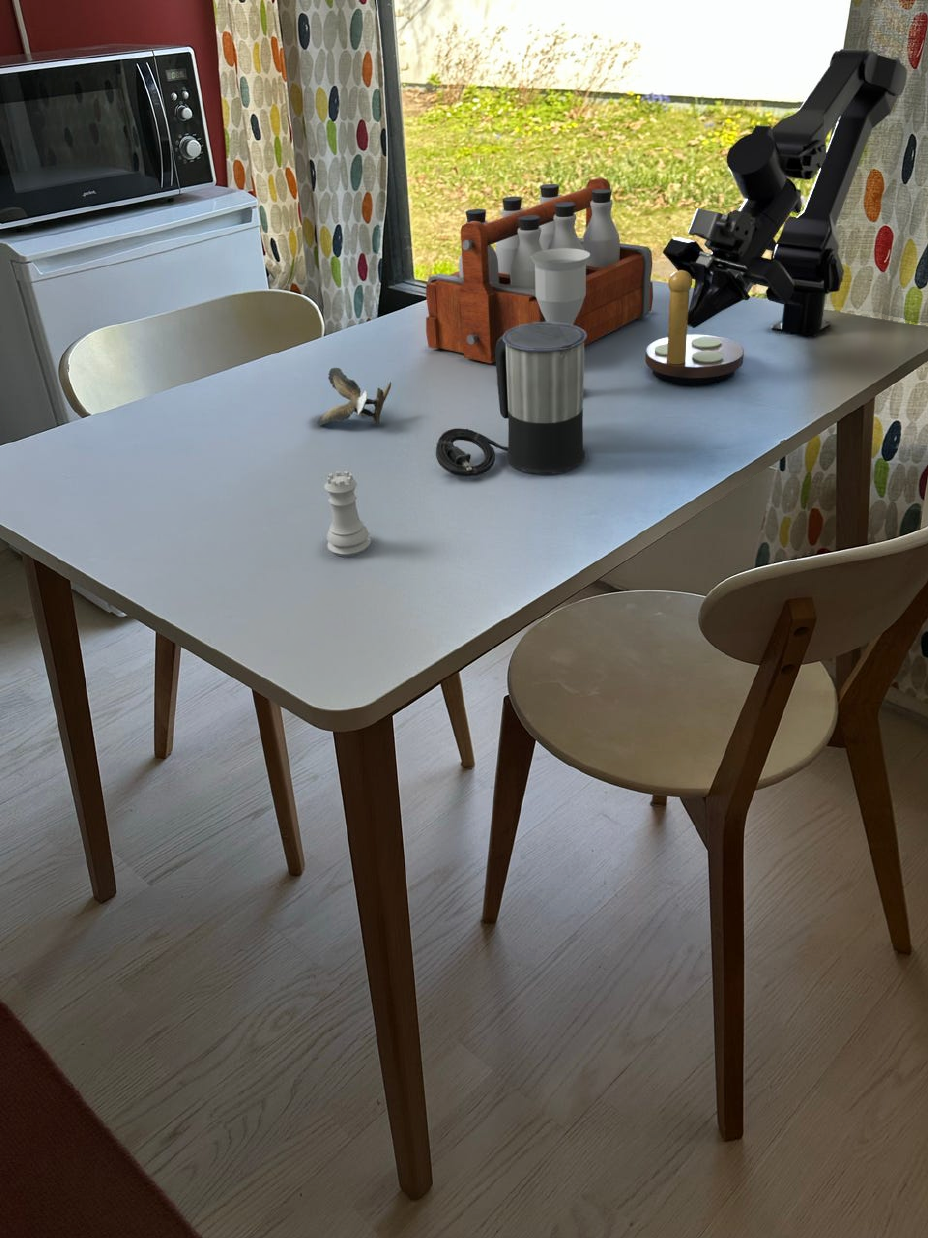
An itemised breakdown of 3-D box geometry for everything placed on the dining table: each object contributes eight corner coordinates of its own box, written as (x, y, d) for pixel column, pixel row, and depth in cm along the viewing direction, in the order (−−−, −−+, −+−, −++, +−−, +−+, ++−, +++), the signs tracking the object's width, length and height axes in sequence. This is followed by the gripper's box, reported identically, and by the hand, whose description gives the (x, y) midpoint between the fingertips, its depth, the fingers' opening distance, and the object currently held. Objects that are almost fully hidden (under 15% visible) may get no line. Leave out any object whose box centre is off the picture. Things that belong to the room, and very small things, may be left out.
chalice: (588, 384, 139) (590, 247, 129) (589, 403, 134) (590, 261, 124) (534, 385, 140) (531, 249, 130) (532, 404, 135) (529, 263, 125)
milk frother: (602, 455, 121) (604, 330, 112) (511, 505, 112) (506, 372, 103) (512, 426, 129) (508, 308, 121) (421, 470, 120) (409, 345, 112)
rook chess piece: (328, 538, 108) (317, 468, 103) (371, 534, 108) (362, 464, 103) (327, 560, 104) (316, 488, 100) (371, 555, 104) (362, 484, 100)
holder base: (679, 352, 148) (680, 344, 147) (749, 367, 141) (750, 358, 141) (636, 375, 141) (636, 367, 140) (707, 392, 135) (708, 383, 134)
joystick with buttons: (744, 345, 144) (753, 247, 137) (741, 379, 134) (751, 275, 126) (650, 343, 147) (654, 247, 140) (640, 376, 137) (644, 274, 129)
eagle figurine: (396, 400, 136) (333, 384, 137) (388, 368, 129) (322, 351, 131) (376, 448, 133) (311, 432, 135) (367, 418, 126) (299, 401, 128)
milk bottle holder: (416, 354, 154) (404, 218, 143) (552, 292, 176) (550, 170, 165) (530, 380, 142) (526, 234, 131) (661, 310, 164) (667, 180, 153)
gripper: (677, 171, 134) (609, 275, 135) (788, 191, 120) (713, 306, 122) (716, 224, 141) (652, 322, 143) (825, 248, 128) (754, 356, 129)
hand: (689, 325), depth 134 cm, fingers closed
